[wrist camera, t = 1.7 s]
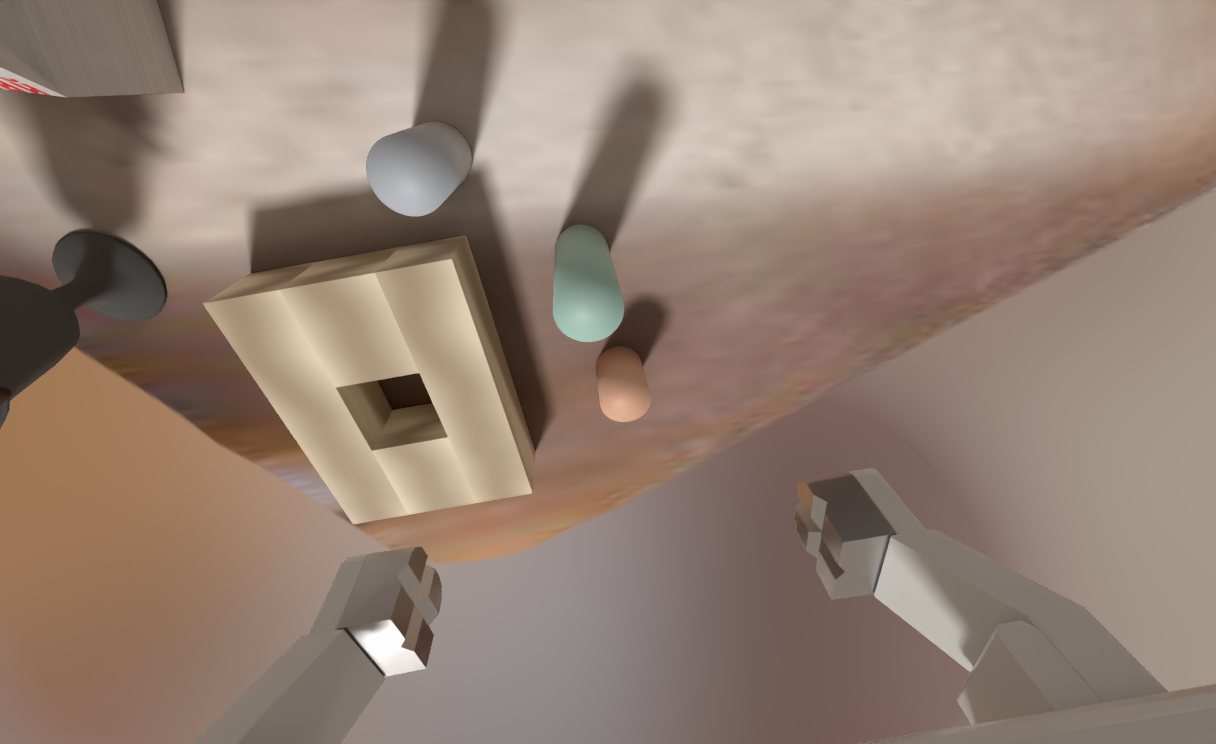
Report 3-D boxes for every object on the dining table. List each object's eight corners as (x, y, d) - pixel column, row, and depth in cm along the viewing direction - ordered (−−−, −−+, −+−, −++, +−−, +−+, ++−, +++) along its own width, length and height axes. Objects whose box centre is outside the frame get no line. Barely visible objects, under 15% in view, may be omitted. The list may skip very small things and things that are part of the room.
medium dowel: (461, 115, 22) (431, 127, 17) (479, 181, 24) (458, 209, 19) (399, 127, 22) (352, 141, 17) (422, 191, 24) (385, 222, 19)
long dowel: (603, 219, 26) (619, 270, 19) (611, 271, 27) (628, 335, 20) (549, 229, 26) (545, 283, 19) (560, 280, 27) (561, 347, 20)
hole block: (466, 234, 25) (451, 258, 22) (535, 451, 34) (532, 493, 31) (250, 273, 25) (202, 303, 22) (373, 480, 34) (353, 524, 31)
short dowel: (638, 342, 30) (648, 376, 26) (643, 380, 31) (653, 417, 28) (592, 350, 30) (596, 385, 26) (599, 388, 31) (604, 425, 28)
